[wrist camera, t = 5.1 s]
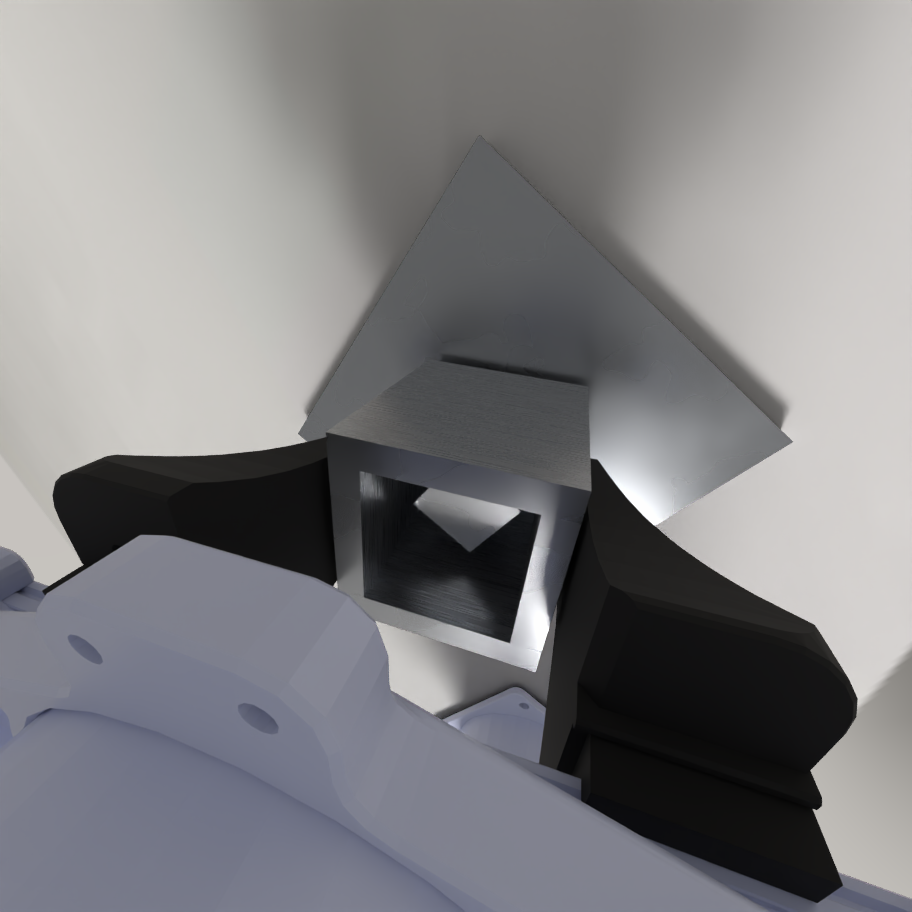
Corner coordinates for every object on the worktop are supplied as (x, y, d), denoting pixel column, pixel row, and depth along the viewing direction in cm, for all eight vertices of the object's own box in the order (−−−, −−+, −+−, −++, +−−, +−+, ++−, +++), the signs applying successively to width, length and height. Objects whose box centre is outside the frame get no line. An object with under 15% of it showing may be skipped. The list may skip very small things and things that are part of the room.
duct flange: (781, 431, 12) (900, 540, 7) (513, 599, 18) (488, 715, 14) (486, 142, 11) (413, 61, 6) (309, 426, 17) (208, 488, 12)
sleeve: (588, 386, 12) (591, 491, 7) (552, 519, 14) (535, 672, 9) (429, 359, 13) (325, 432, 8) (422, 487, 15) (339, 608, 10)
